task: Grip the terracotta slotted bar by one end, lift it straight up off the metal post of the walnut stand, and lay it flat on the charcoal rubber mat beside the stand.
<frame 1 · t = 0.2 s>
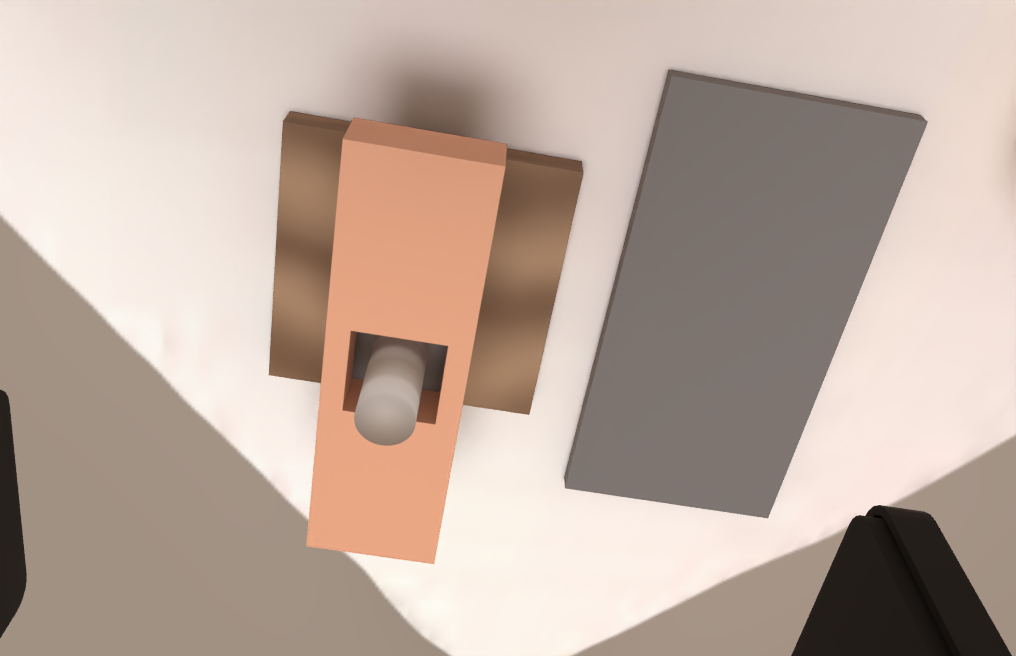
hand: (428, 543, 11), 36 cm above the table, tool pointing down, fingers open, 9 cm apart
stand: (419, 266, 49), on the table
link: (401, 347, 42), point 8 cm above the table, touching stand
mat: (722, 316, 50), on the table
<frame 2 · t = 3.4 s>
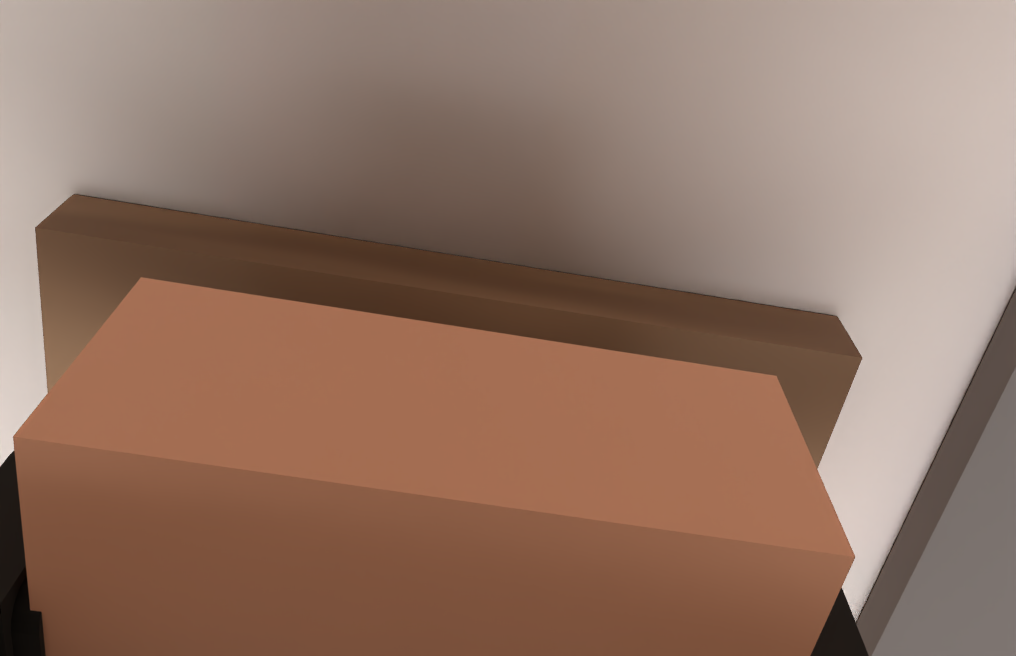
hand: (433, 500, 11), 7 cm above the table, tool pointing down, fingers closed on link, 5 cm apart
stand: (418, 547, 21), on the table
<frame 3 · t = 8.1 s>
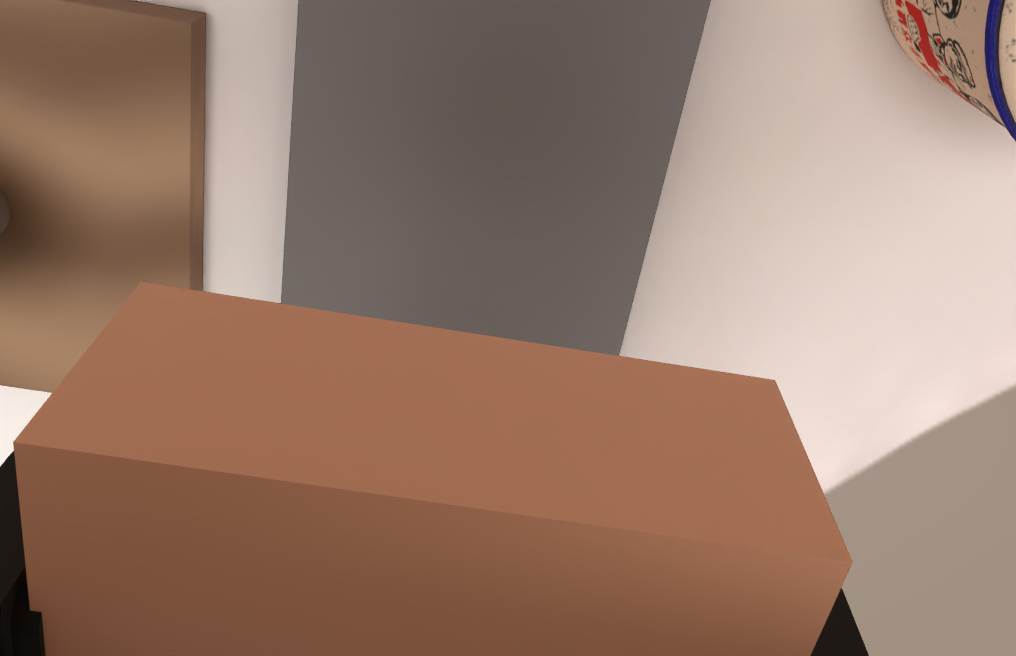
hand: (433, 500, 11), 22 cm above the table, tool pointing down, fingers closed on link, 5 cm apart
mat: (462, 261, 34), on the table
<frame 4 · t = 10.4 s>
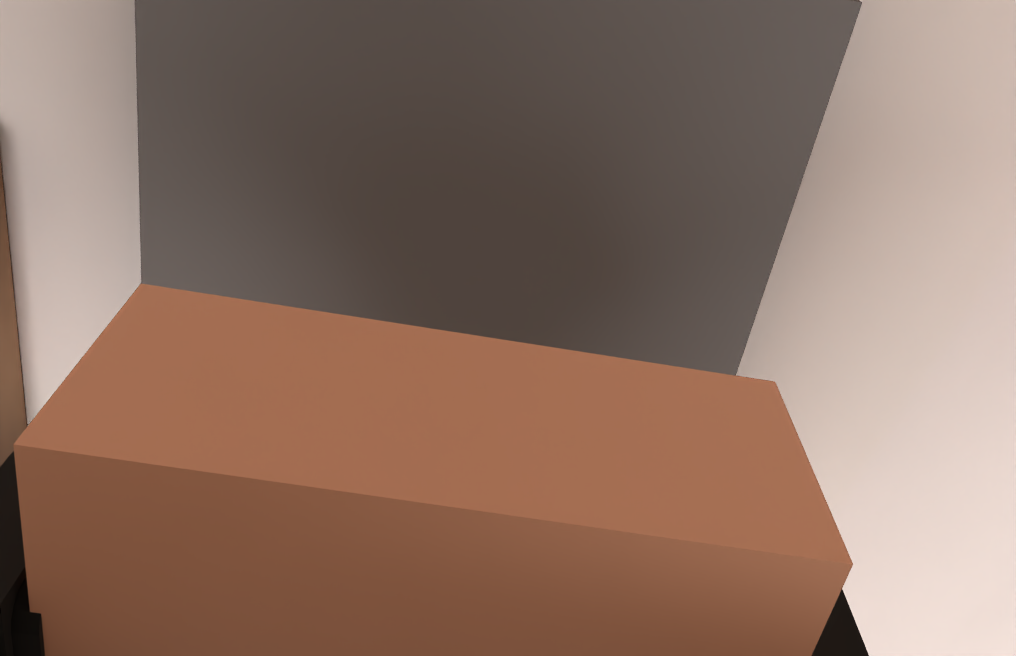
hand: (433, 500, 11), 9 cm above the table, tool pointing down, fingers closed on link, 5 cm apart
mat: (421, 476, 22), on the table
when the fingers open (2 cm above the table, at t = 12.7 s): link drops 2 cm, resting on mat.
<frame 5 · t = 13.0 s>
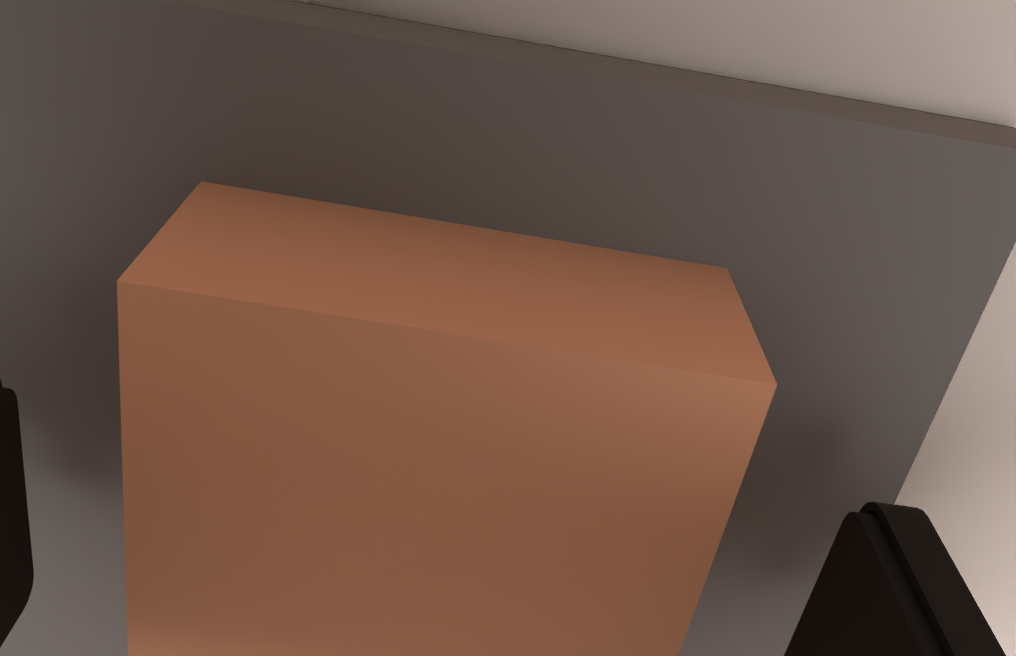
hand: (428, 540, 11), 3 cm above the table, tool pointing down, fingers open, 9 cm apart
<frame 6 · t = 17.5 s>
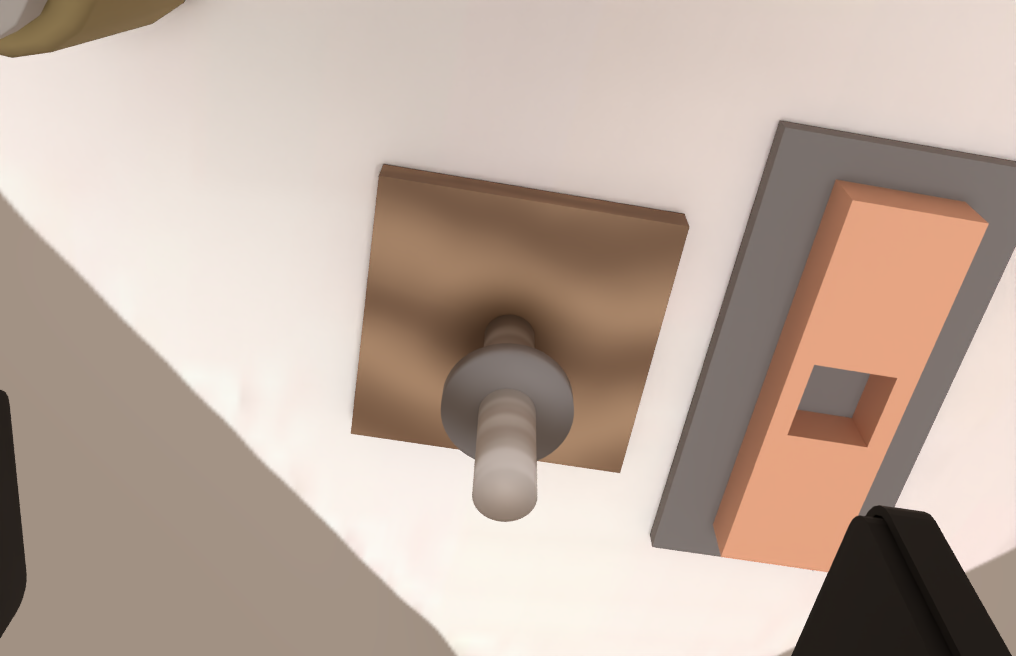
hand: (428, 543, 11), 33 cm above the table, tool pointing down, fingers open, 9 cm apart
stand: (509, 321, 47), on the table
link: (826, 378, 47), point 1 cm above the table, touching mat
mat: (823, 370, 48), on the table
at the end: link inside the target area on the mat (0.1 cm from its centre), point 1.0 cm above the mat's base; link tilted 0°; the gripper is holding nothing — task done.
